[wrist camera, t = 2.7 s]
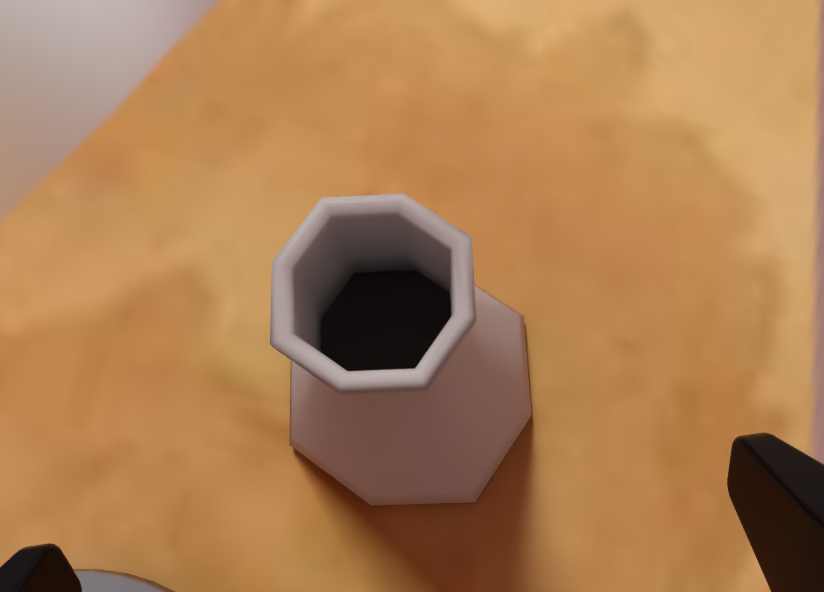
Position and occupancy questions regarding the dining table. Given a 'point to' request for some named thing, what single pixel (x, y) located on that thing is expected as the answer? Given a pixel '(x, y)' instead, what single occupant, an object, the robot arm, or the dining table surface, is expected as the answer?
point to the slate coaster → (115, 582)
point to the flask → (396, 353)
